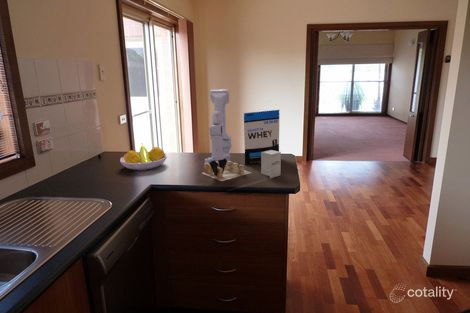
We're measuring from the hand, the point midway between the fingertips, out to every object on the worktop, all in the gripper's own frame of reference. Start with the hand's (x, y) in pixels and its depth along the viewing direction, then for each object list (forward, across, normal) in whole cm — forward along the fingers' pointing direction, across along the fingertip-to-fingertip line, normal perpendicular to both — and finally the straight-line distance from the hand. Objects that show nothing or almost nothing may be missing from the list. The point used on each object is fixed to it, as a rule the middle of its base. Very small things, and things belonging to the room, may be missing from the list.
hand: (218, 174), depth 171 cm
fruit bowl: (+3, -18, +48) cm, 52 cm away
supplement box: (+3, +23, -14) cm, 27 cm away
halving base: (+2, +7, +2) cm, 8 cm away
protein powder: (+3, +38, +8) cm, 39 cm away
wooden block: (+1, 0, +4) cm, 5 cm away
